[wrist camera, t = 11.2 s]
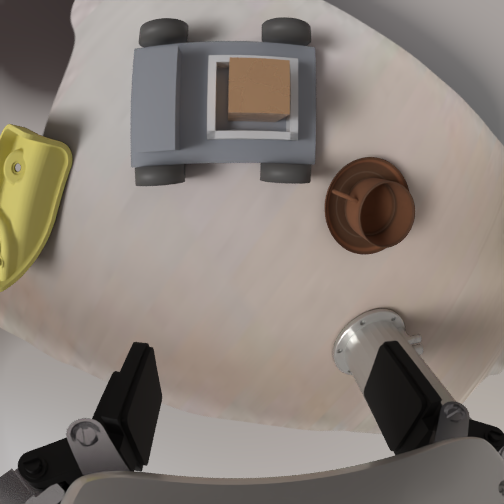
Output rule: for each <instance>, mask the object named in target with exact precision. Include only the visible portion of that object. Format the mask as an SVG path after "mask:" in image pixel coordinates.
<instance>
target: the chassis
mask: <svg viewBox="0 0 504 504" xmlns="http://www.w3.org/2000/svg"><path fill="white" fill-rule="evenodd" d="M187 37H188V25H187V23H185V22H184V21H181V20H178V19H171V18H162V19H155V20H152V21H149V22H146V23H145V24H143V25H142V26H141V28H140V35H139V45H140V46H142V47H144V48H137V49H135V50H134V61H133V74H132V92H131V167H136V168H135V182H136V186H159V185H169V184H177V183H182V182H185V168H184V164H193V163H261V169H260V180H261V181H265V182H274V183H310V176H311V165H309V164H315V145H316V59H315V47H309V46H307V45H309V44H310V43H311V28H310V25H309V24H308V23H306V22H305V21H302V20H299V19H295V18H285V17H284V18H274V19H270V20H267V21H266V22H264V23H263V24H262V42H249V41H210V42H190V43H186V42H187ZM230 57H239V58H266V59H280V60H290V114H289V115H288V116H286V117H284V118H282V119H280V120H278V121H277V122H255V121H228V78H229V59H230Z"/></svg>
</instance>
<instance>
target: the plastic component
mask: <svg viewBox="0 0 504 504" xmlns="http://www.w3.org/2000/svg"><path fill="white" fill-rule="evenodd" d="M17 163H19V164H20V165H21V170H20V171H19V172H17V171H16V170H15V165H16V164H17ZM71 166H72V153H71V151H70V149H69V147H68V146H67V145H66V144H64V143H63V142H60V141H57V140H53V139H50V138H46V137H43V136H41V135H38V134H37V133H35V132H33V131H31V130H29V129H27V128H25V127H20V126H16V125H12V124H8V125H7V126H6V127H5V128H4V130H3V131H2V133H1V136H0V292H2V291H4V290H5V289H7V288H8V287H10V286H11V285H13V284H14V283H15V282H16V281H17V280H18V279H20V278H21V277H22V276H23V275H24V273H25V272H26V271H27V270H28V269H29V268H30V267H31V265H32V264H33V263H34V261H35V260H36V259H37V257H38V256H39V254H40V253H41V251H42V249H43V248H44V246H45V244H46V242H47V240H48V238H49V235H50V233H51V231H52V228H53V225H54V222H55V219H56V215H57V211H58V208H59V204H60V200H61V197H62V194H63V190H64V187H65V184H66V181H67V178H68V175H69V172H70V169H71Z"/></svg>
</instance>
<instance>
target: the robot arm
mask: <svg viewBox="0 0 504 504" xmlns="http://www.w3.org/2000/svg"><path fill="white" fill-rule="evenodd" d="M419 342H421V335H420V334H418V335H413V336H409V335H408V334H407V333H406V332H405V325H404V322H403V320H402V318H401V317H400V316H399V315H398V314H397V313H395V312H394V311H392V310H389V309H375V310H371V311H368V312H366V313H364V314H361V315H360V316H358V317H356V318H355V319H353V320H352V321H351V322H350V323H349V324H347V326H346V327H345V328H344V329H343V330H342V331H341V333H340V334H339V336H338V337H337V339H336V341H335V344H334V347H333V359H334V362H335V364H336V366H337V367H338V369H339V370H340V371H342V372H343V373H345V374H348V375H353V377H354V378H355V380H356V382H357V384H358V386H359V388H360V390H361V392H362V394H363V396H364V398H365V400H366V402H367V404H368V406H369V408H370V409H371V411H372V413H373V415H374V417H375V419H376V422H377V424H378V426H379V428H380V430H381V432H382V434H383V436H384V438H385V440H386V442H387V445H388V447H389V448H390V450H391V451H394V453H395V456H392V457H389V458H385V459H381V460H377V461H373V462H369V463H365V464H360V465H356V466H351V467H346V468H341V469H336V470H330V471H324V472H317V473H310V474H302V475H292V476H281V477H267V478H203V477H186V476H175V475H164V474H155V473H145V472H134V470H136V471H142V468H143V465H147V464H148V460H149V456H150V451H151V447H152V442H153V437H154V433H155V428H156V424H157V419H158V415H159V411H160V406H161V402H162V392H161V387H160V382H159V377H158V372H157V366H156V360H155V355H154V349H153V347H149V344H148V343H139V342H134V343H133V345H132V347H131V349H130V351H129V353H128V355H127V358H126V360H125V362H124V364H123V366H122V368H121V371H120V372H117V371H115V372H113V374H112V376H111V378H110V380H109V382H108V384H107V387H106V389H105V391H104V393H103V395H102V397H101V400H100V402H99V404H98V406H97V409H96V411H95V413H94V416H93V418H92V419H89V418H82V419H78V420H76V421H74V422H73V423H71V424H70V426H69V427H68V429H67V433H66V436H67V438H64V439H62V440H59V441H56V442H54V443H51V444H48V445H46V446H43V447H40V448H37V449H35V450H32V451H29V452H27V453H25V454H23V455H22V456H21V457H20V459H19V461H18V469H16V470H15V471H14V470H13V469H11V470H9V471H8V472H7V473H5V474H4V475H2V476H1V477H0V504H504V433H503V432H502V431H501V430H500V429H499V428H497V427H494V426H491V425H488V424H484V423H481V422H478V421H474V420H472V419H471V418H470V417H469V412H468V410H467V408H466V407H465V406H464V405H462V404H461V403H458V402H456V400H455V399H454V398H453V397H452V396H451V394H450V393H449V392H448V390H447V389H446V388H445V387H444V385H443V384H442V383H441V382H440V380H439V379H438V378H437V377H436V375H435V374H434V373H433V372H432V370H431V369H430V368H429V367H428V365H427V364H426V363H425V362H424V360H423V359H422V358H421V357H420V355H421V354H422V353H423V346H422V345H421V344H417V345H412V346H411V344H414V343H419Z"/></svg>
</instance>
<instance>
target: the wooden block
mask: <svg viewBox="0 0 504 504" xmlns="http://www.w3.org/2000/svg"><path fill="white" fill-rule="evenodd" d="M289 114H290V60H280V59H266V58H239V57H230V59H229V78H228V121H255V122H277V121H278V120H280V119H282V118H284V117H286V116H288V115H289Z"/></svg>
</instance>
